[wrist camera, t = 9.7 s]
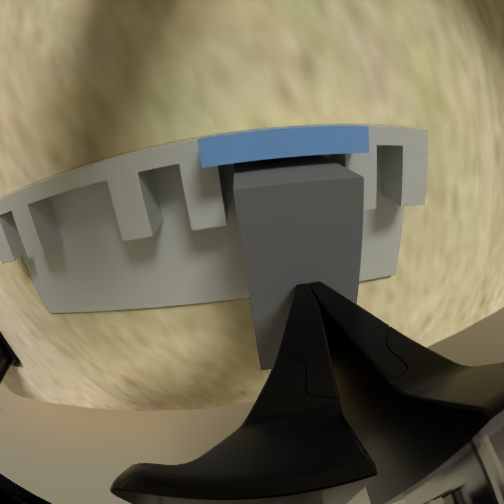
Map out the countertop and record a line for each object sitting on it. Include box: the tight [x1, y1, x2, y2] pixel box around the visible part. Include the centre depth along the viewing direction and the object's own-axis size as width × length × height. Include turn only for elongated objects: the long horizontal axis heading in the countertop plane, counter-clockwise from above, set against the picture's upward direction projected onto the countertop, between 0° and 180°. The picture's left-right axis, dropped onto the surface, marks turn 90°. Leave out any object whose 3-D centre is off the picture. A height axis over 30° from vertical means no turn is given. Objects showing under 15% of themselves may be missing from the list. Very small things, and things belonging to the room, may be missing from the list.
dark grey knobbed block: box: [233, 155, 364, 370], centre depth 12 cm, size 10×4×6 cm, turn 7°
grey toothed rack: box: [0, 124, 428, 313], centre depth 12 cm, size 9×24×4 cm, turn 97°
